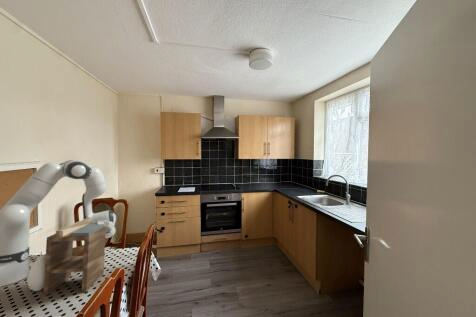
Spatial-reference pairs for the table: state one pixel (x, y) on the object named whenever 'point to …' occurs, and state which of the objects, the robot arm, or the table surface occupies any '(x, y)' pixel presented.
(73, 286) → the table surface
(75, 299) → the table surface
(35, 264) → the sauce bottle
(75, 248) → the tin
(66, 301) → the table surface
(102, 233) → the walnut stand
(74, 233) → the slate tile
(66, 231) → the beech bar
